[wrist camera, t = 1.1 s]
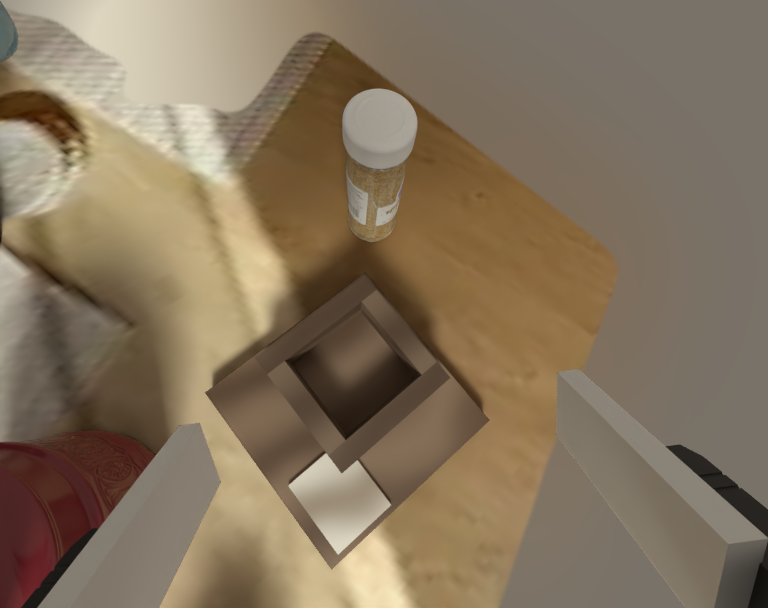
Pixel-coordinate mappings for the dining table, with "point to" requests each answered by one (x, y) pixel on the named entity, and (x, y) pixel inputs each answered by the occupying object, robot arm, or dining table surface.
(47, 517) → the canister
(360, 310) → the spice caddy
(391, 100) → the sprinkles bottle
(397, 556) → the dining table surface
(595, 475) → the robot arm
